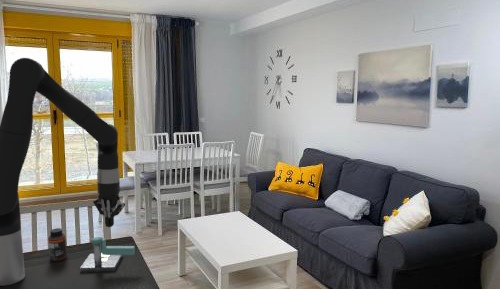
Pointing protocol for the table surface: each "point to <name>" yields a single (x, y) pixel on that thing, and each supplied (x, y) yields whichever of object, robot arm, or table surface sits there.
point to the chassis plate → (100, 261)
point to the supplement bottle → (57, 245)
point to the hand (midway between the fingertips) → (109, 226)
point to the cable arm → (113, 248)
